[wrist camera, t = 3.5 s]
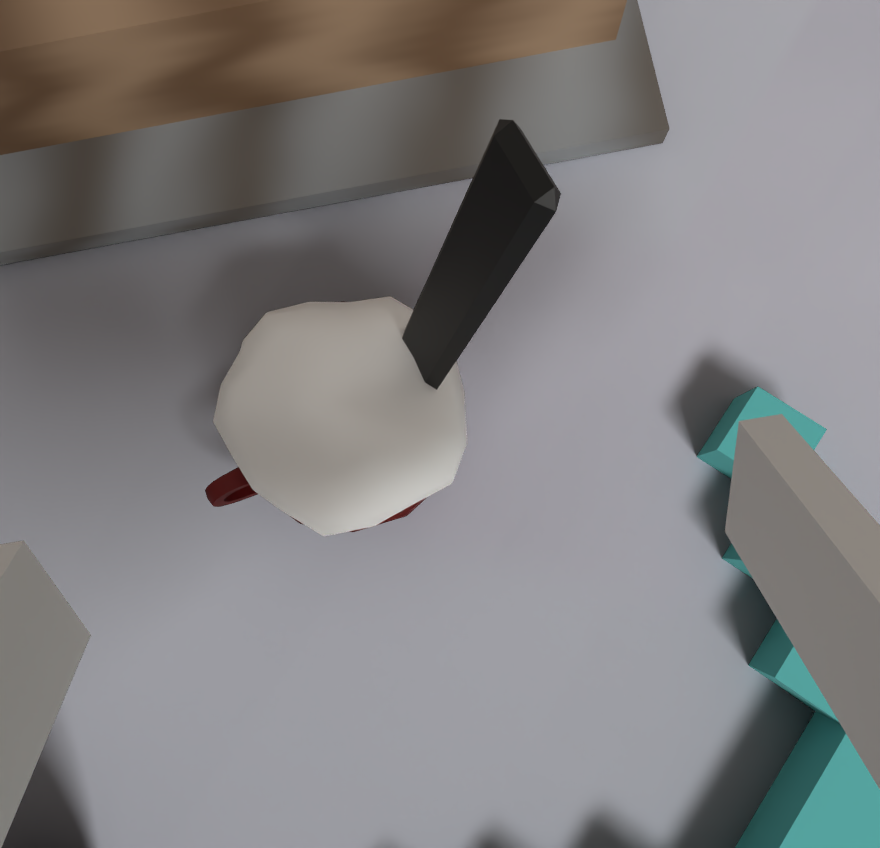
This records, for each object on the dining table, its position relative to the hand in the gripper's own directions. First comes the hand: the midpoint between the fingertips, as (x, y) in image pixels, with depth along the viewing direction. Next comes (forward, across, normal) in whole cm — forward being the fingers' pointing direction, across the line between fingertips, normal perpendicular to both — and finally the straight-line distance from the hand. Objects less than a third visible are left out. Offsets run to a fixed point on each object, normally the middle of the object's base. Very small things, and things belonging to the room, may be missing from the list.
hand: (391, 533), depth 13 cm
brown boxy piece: (+18, -3, +6) cm, 19 cm away
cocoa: (+8, -1, -4) cm, 9 cm away
